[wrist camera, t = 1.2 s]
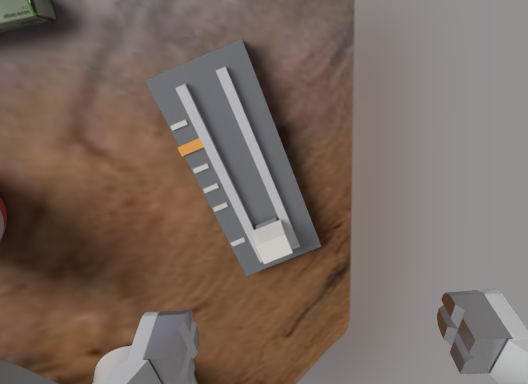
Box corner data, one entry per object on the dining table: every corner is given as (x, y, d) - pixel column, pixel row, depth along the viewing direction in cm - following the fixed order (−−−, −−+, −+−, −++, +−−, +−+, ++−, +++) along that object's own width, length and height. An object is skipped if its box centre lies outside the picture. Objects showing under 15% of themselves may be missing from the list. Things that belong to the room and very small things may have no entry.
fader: (286, 233, 48) (292, 252, 43) (260, 243, 48) (264, 264, 43) (278, 216, 46) (285, 234, 42) (252, 226, 47) (255, 246, 42)
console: (316, 236, 52) (323, 250, 49) (244, 264, 53) (245, 280, 49) (240, 39, 40) (242, 38, 37) (149, 79, 41) (141, 81, 37)
